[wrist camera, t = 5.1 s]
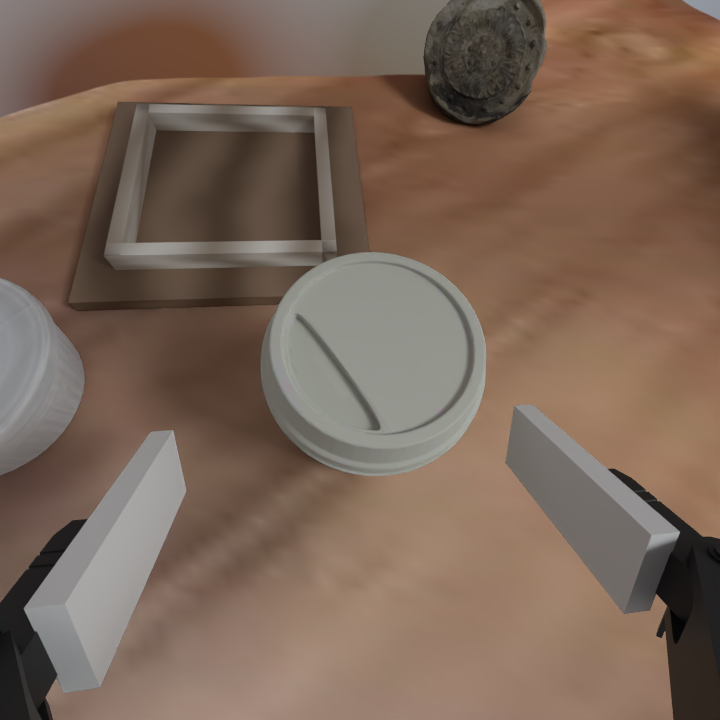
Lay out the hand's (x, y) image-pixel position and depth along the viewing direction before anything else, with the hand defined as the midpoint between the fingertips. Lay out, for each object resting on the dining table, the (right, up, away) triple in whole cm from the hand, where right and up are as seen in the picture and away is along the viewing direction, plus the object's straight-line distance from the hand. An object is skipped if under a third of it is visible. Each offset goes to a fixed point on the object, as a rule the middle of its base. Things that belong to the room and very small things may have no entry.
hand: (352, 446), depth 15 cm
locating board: (-10, +16, +16) cm, 25 cm away
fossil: (+11, +30, +24) cm, 40 cm away
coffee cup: (0, -1, +9) cm, 9 cm away
